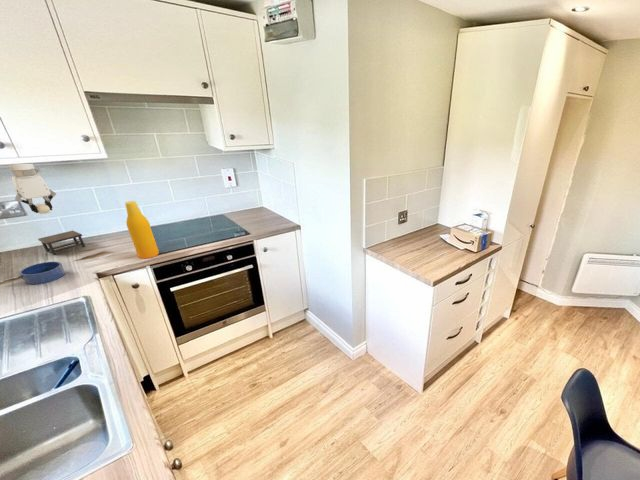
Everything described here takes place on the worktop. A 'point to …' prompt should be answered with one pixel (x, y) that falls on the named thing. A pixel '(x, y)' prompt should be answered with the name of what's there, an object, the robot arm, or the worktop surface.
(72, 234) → the stand
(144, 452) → the worktop surface
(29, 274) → the bowl
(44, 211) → the potato
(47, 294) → the worktop surface
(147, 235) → the beer bottle
